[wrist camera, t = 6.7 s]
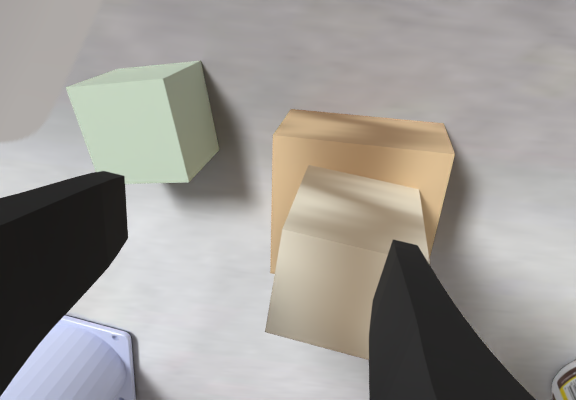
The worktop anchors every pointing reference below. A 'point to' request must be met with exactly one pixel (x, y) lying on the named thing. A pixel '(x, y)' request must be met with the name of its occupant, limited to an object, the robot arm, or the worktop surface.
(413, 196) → the birch block
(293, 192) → the oak block
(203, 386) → the worktop surface
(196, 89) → the sage block
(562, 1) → the worktop surface
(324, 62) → the worktop surface
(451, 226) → the worktop surface
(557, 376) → the supplement bottle
